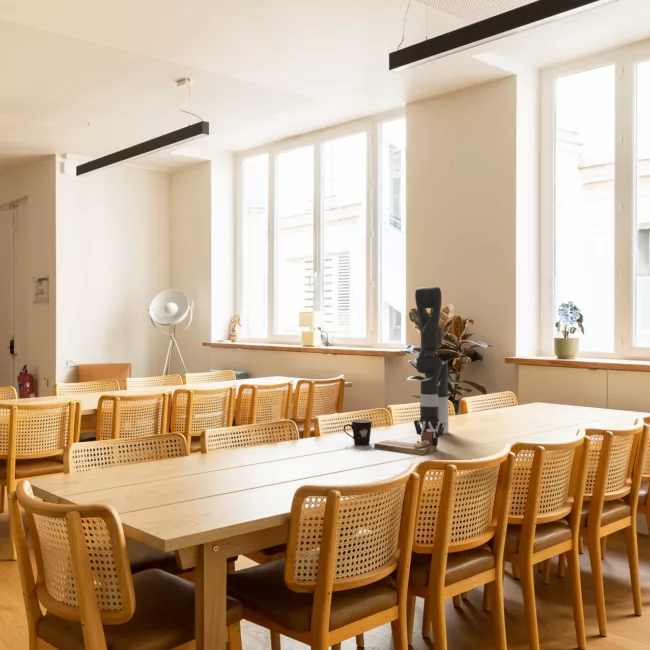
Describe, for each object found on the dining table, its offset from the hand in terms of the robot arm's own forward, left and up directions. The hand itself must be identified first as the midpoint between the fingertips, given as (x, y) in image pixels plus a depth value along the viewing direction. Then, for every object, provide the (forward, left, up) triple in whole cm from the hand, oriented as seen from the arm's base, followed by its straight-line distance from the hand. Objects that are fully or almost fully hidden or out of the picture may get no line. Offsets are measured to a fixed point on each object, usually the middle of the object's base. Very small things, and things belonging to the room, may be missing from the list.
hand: (429, 445), depth 295 cm
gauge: (+4, 0, -1) cm, 4 cm away
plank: (+8, -8, -1) cm, 11 cm away
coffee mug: (+9, -30, -2) cm, 31 cm away
